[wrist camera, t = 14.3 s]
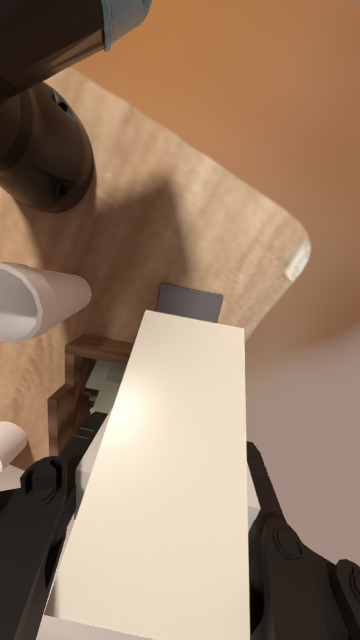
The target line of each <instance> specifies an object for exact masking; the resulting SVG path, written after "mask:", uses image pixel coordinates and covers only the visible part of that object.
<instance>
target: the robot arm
mask: <svg viewBox="0 0 360 640" xmlns="http://www.w3.org/2000/svg"><path fill="white" fill-rule="evenodd" d="M151 2H152V0H0V187H1V188H2V189H4V190H5V191H6V192H7V193H9V194H10V195H11V196H12V197H14V198H15V199H17V200H18V201H20V202H22V203H24V204H26V205H28V206H31V207H33V208H35V209H38V210H41V211H44V212H52V213H54V212H62V211H65V210H67V209H70V208H71V207H73V206H74V205H76V204H77V203H78V202H79V201H80V200H81V199H82V197H83V196H84V194H85V193H86V191H87V189H88V186H89V183H90V180H91V176H92V168H93V158H92V150H91V145H90V141H89V138H88V135H87V133H86V130H85V128H84V126H83V124H82V123H81V121H80V119H79V118H78V117H77V115H76V114H75V113H74V111H73V110H72V108H71V107H70V106H69V105H68V103H67V102H66V101H65V100H64V98H63V97H62V96H61V95H60V94H59V93H58V92H57V91H55V90H54V89H53V88H52V87H50V86H49V85H48V84H46V83H45V82H44V80H46V79H48V78H50V77H51V76H53V75H55V74H57V73H59V72H61V71H62V70H64V69H66V68H68V67H70V66H71V65H73V64H75V63H77V62H79V61H81V60H83V59H85V58H87V57H89V56H91V55H93V54H95V53H97V52H99V51H101V50H103V49H104V51H105V52H106V51H109V49H110V48H111V44H112V43H114V42H115V41H117V40H118V39H120V38H121V37H123V36H124V35H125V34H127V33H128V32H130V31H131V30H133V29H134V28H136V27H138V26H139V25H140V24H141V23H142V22H143V21H144V19H145V18H146V16H147V14H148V12H149V9H150V6H151ZM113 406H114V405H113ZM112 409H113V407H112ZM112 409H111V411H110V412H109V414H107V413H102V412H97V411H95V412H94V413H92V414H91V415H90V416H88V417H87V418H86V419H85V420H84V422H83V423H82V425H81V426H80V428H79V429H78V430H77V431H76V433H75V434H74V436H73V437H72V438H71V440H70V441H69V442H68V444H67V445H66V447H65V448H64V449H63V451H62V452H61V454H60V455H59V456H50V457H45V458H43V459H41V460H39V461H37V462H35V463H34V464H33V465H31V466H30V467H29V468H28V469H27V470H26V471H25V472H24V473H23V475H22V476H21V478H20V482H21V488H17V489H11V490H6V491H0V640H36V637H37V633H38V630H39V626H40V623H41V620H42V616H43V613H44V609H45V606H46V602H47V599H48V596H49V592H50V589H51V585H52V582H53V579H54V575H55V572H56V568H57V565H58V561H59V558H60V555H61V551H62V548H63V544H64V541H65V538H66V531H67V526H68V524H69V522H70V520H71V518H72V516H73V514H75V515H74V520H76V517H77V514H78V511H79V508H80V505H81V502H82V499H83V496H84V493H85V490H86V487H87V484H88V481H89V478H90V475H91V472H92V469H93V466H94V463H95V460H96V457H97V454H98V451H99V448H100V445H101V442H102V439H103V436H104V433H105V430H106V427H107V424H108V421H109V418H110V415H111V412H112ZM246 454H247V506H248V559H249V611H250V640H360V567H359V566H358V565H357V564H355V563H353V562H351V561H349V560H347V559H343V560H339V561H338V563H337V564H336V565H335V564H333V563H331V562H330V561H328V560H327V559H325V558H323V557H322V556H320V555H318V554H317V553H315V552H313V551H312V550H310V549H309V548H308V547H307V546H305V545H304V544H303V543H302V542H301V540H300V539H299V537H298V535H297V534H296V532H295V531H294V530H293V529H292V528H291V527H290V526H289V525H288V524H287V522H286V520H285V518H284V516H283V513H282V510H281V508H280V505H279V502H278V499H277V497H276V494H275V491H274V489H273V486H272V483H271V481H270V478H269V476H268V473H267V470H266V467H265V466H264V462H263V459H262V457H261V454H260V452H259V451H258V449H257V448H256V446H255V445H254V444H253V443H252V442H248V441H246ZM74 512H75V513H74Z"/></svg>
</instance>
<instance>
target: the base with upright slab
mask: <svg viewBox="0 0 360 640" xmlns="http://www.w3.org/2000/svg"><path fill="white" fill-rule="evenodd" d="M27 441H28V440H27V436H26V434H25V432H24V431H23V430H22V429H21V428H20V427H19V426H17V425H15V424H13V423H10V422H0V473H1V472H2V471H3V470H4V469H5V468H6V467H7V465H8V464H9V463H10V462H11V461H12V460H13V459H14V458H15V457H16V456H17V455H18V454H19V453H20V452H21V451H22V450H23V449H24V448H25V446H26V445H27Z"/></svg>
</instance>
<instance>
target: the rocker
mask: <svg viewBox="0 0 360 640" xmlns="http://www.w3.org/2000/svg"><path fill="white" fill-rule="evenodd" d="M126 367H127V366H126V365H121V364H116V363H111V362H106V361H100V360H97V361H96V363H95V366H94V368H93V370H92V372H91V375H90V377H89V379H88V382H87V384H86V386H85V387H86V388H89V389H94V390H99V393H98V396H93V395H91V396H90V398H89V401H94V402H95V403H94V406H93V408H91V409H90V411H89V412H91V413H90V415H91V414H92V413H94V412H95V411H97V412H102V413H107V414H109V412H110V411H111V409H112V407H113V405H114V403H115V400H116V397H117V394H118V391H119V388H120V385H121V382H122V379H123V376H124V373H125V370H126Z"/></svg>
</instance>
